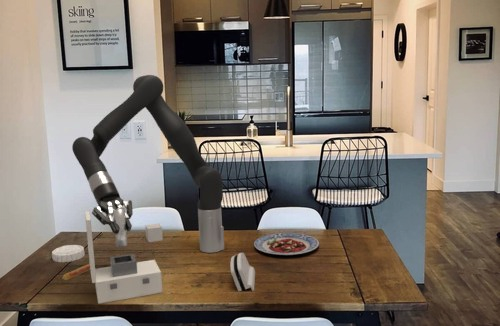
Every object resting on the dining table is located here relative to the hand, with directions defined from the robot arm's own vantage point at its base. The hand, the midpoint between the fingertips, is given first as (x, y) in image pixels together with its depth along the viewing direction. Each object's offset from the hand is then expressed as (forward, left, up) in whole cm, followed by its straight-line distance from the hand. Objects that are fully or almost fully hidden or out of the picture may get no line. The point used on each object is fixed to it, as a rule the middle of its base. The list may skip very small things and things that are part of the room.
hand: (123, 231), depth 160 cm
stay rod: (+1, -2, -5) cm, 5 cm away
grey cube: (-17, -52, -21) cm, 59 cm away
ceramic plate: (-64, -18, -21) cm, 70 cm away
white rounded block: (-37, +6, -21) cm, 43 cm away
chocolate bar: (+15, -25, -22) cm, 36 cm away
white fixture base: (0, -2, -21) cm, 21 cm away
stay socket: (+1, -2, -14) cm, 14 cm away
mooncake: (+18, -45, -21) cm, 53 cm away
